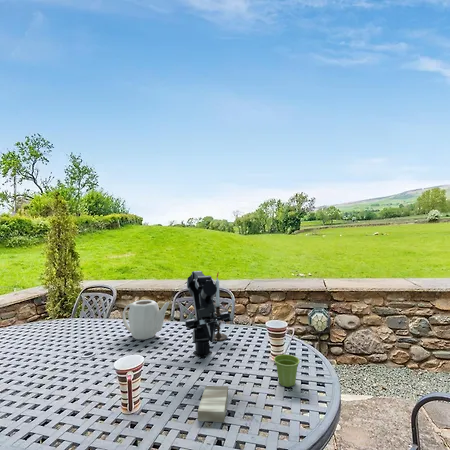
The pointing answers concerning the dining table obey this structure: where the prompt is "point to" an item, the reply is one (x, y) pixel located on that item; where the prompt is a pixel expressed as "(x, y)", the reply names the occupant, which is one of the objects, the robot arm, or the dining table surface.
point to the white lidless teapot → (144, 318)
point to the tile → (213, 404)
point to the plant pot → (286, 369)
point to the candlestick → (219, 310)
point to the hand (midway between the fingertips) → (211, 342)
